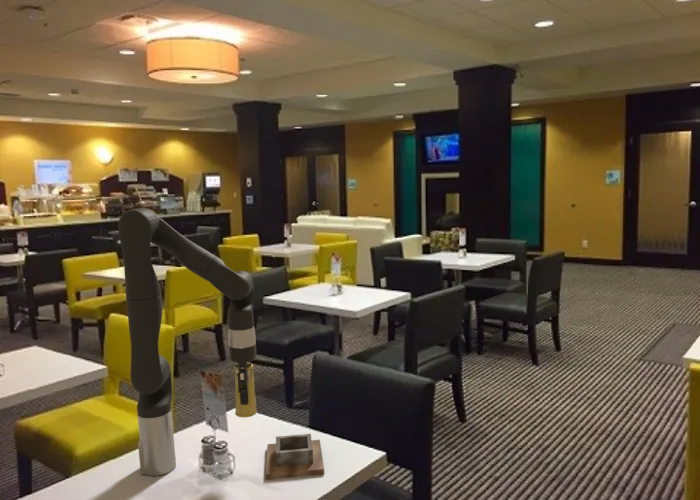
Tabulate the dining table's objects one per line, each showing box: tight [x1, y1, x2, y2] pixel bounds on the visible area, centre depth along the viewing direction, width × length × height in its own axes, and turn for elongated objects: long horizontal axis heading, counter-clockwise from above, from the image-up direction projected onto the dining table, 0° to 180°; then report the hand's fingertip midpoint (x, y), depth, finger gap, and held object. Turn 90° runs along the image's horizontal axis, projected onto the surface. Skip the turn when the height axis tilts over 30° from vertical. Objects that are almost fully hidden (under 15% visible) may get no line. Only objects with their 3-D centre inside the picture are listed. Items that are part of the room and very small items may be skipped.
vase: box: [233, 362, 258, 418], centre depth 167 cm, size 6×6×14 cm
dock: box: [265, 433, 325, 481], centre depth 171 cm, size 16×18×6 cm
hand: (245, 399), depth 167 cm, fingers closed on vase, 5 cm apart
